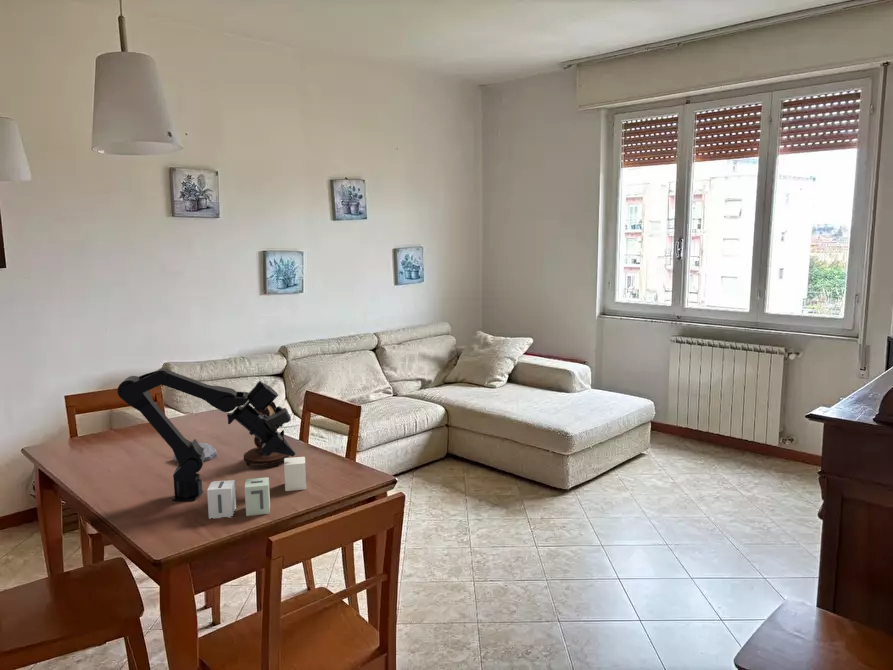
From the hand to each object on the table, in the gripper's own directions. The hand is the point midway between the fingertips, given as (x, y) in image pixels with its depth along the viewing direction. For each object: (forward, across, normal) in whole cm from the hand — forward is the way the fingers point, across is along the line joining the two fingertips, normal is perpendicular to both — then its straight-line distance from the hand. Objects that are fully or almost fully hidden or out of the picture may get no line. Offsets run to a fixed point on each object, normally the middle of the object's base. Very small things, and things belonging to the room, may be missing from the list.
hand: (294, 454), depth 190 cm
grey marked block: (-7, -14, +21) cm, 26 cm away
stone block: (-15, +33, +30) cm, 47 cm away
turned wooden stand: (+1, +25, +13) cm, 28 cm away
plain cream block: (+7, 0, +7) cm, 10 cm away
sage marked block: (0, -15, +14) cm, 20 cm away
